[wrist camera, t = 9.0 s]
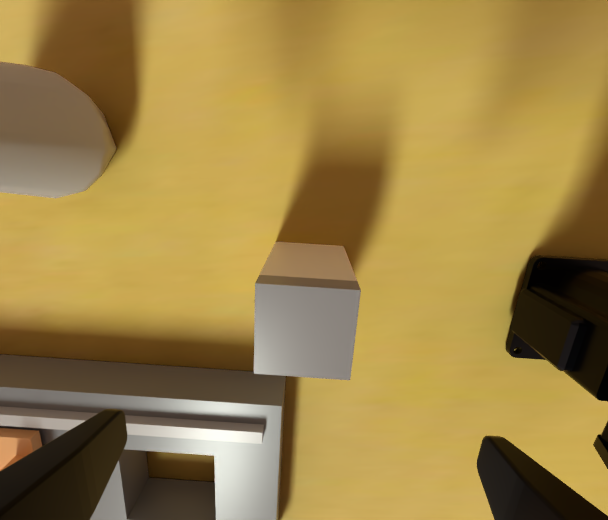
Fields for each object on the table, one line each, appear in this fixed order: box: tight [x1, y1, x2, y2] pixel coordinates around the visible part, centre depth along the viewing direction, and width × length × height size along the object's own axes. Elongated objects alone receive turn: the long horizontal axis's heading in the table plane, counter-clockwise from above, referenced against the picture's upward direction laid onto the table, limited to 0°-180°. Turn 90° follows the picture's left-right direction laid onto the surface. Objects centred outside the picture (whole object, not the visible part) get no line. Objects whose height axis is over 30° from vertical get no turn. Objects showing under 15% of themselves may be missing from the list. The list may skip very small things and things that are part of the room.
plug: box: [254, 242, 361, 380], centre depth 16 cm, size 4×4×7 cm
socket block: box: [0, 354, 286, 520], centre depth 22 cm, size 22×14×4 cm, turn 87°
